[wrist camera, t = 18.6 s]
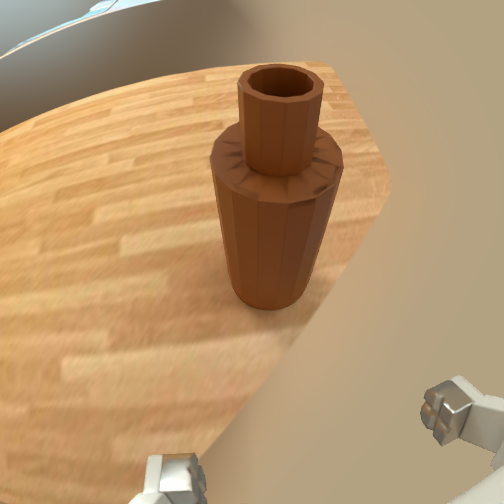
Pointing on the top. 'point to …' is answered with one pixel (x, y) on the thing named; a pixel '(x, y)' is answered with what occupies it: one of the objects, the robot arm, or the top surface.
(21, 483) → the top surface
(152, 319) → the top surface
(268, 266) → the vase
